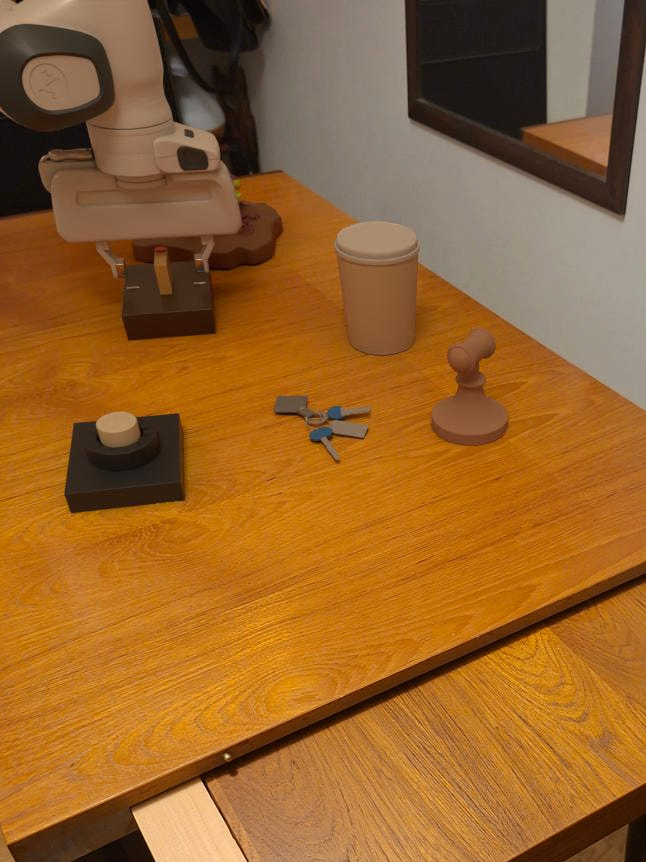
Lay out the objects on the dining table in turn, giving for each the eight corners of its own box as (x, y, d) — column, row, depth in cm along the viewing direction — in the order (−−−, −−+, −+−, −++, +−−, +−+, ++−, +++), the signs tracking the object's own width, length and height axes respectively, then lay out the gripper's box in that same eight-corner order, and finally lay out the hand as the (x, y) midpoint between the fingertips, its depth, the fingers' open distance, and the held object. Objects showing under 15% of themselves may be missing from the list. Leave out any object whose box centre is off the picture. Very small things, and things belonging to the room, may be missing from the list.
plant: (156, 211, 132) (138, 127, 124) (289, 216, 132) (280, 132, 125) (117, 267, 118) (94, 176, 110) (266, 273, 118) (253, 182, 110)
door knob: (527, 330, 88) (487, 363, 83) (521, 418, 95) (483, 453, 90) (458, 309, 91) (414, 340, 86) (456, 396, 98) (416, 430, 93)
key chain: (262, 405, 95) (261, 398, 94) (328, 381, 99) (327, 374, 98) (336, 465, 88) (335, 458, 87) (404, 437, 92) (403, 430, 91)
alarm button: (99, 450, 82) (94, 434, 81) (101, 429, 84) (96, 413, 83) (140, 446, 83) (136, 430, 82) (141, 425, 85) (137, 409, 84)
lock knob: (172, 294, 106) (165, 262, 104) (160, 295, 106) (153, 263, 103) (172, 276, 110) (166, 245, 107) (160, 277, 109) (154, 246, 107)
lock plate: (127, 340, 104) (121, 314, 102) (131, 288, 114) (125, 263, 112) (216, 333, 106) (211, 307, 104) (212, 283, 116) (207, 258, 114)
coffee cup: (434, 332, 108) (434, 230, 100) (397, 366, 102) (393, 260, 94) (367, 315, 111) (361, 214, 102) (327, 347, 105) (317, 242, 96)
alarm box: (71, 514, 81) (57, 477, 78) (79, 442, 89) (67, 406, 86) (184, 501, 83) (176, 464, 80) (183, 431, 91) (175, 396, 88)
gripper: (30, 160, 93) (68, 291, 103) (232, 153, 97) (250, 279, 107) (35, 140, 97) (72, 268, 107) (229, 134, 101) (246, 258, 111)
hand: (162, 273), depth 107 cm, fingers open, 8 cm apart
